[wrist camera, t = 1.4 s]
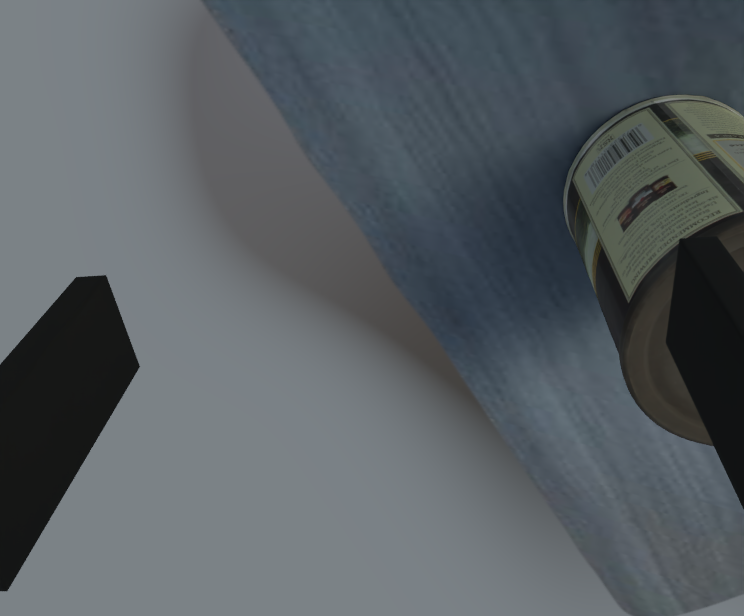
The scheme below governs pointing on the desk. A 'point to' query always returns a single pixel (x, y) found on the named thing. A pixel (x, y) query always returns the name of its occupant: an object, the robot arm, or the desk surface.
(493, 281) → the desk surface
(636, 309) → the coffee can
